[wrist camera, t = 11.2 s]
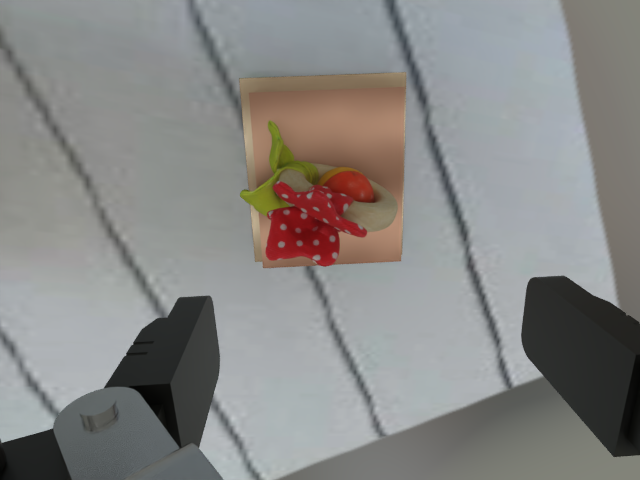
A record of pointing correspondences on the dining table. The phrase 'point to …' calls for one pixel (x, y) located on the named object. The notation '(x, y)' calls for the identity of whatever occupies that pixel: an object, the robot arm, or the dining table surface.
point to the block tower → (330, 145)
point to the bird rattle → (316, 205)
